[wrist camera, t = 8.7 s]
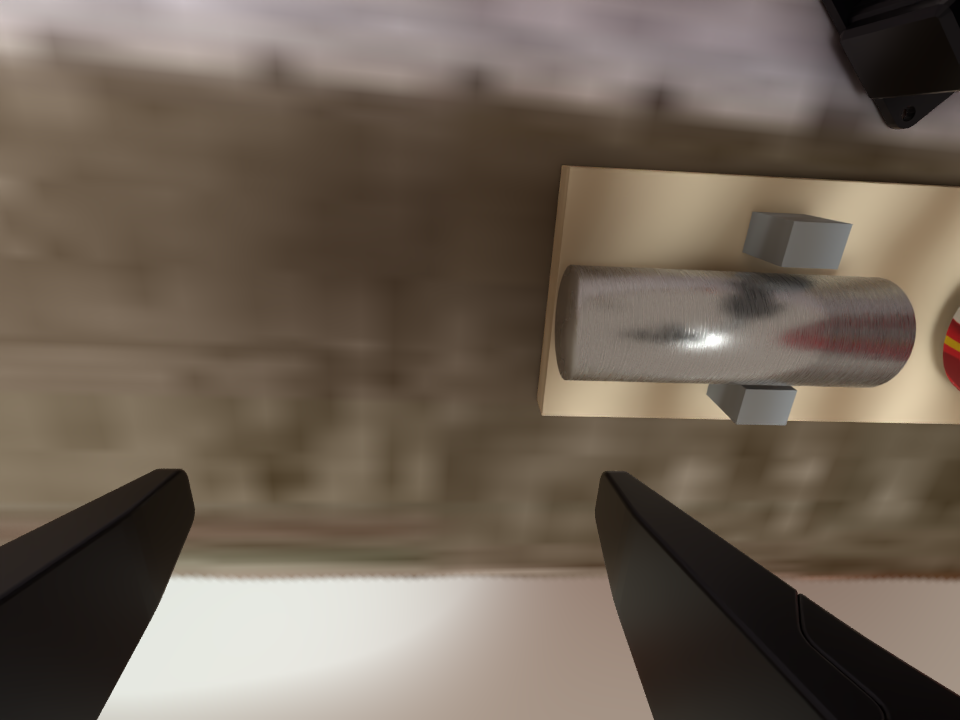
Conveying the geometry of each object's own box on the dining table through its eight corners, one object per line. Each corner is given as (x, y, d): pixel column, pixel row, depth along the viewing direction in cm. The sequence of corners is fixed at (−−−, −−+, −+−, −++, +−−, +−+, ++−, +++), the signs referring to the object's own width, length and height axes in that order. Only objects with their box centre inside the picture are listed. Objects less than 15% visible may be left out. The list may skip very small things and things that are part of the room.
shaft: (844, 265, 19) (935, 294, 16) (812, 361, 21) (888, 407, 17) (562, 254, 19) (588, 281, 15) (550, 353, 20) (572, 400, 17)
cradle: (1227, 200, 21) (1470, 219, 16) (1099, 411, 25) (1262, 480, 20) (561, 165, 19) (600, 173, 14) (536, 399, 23) (560, 471, 18)
